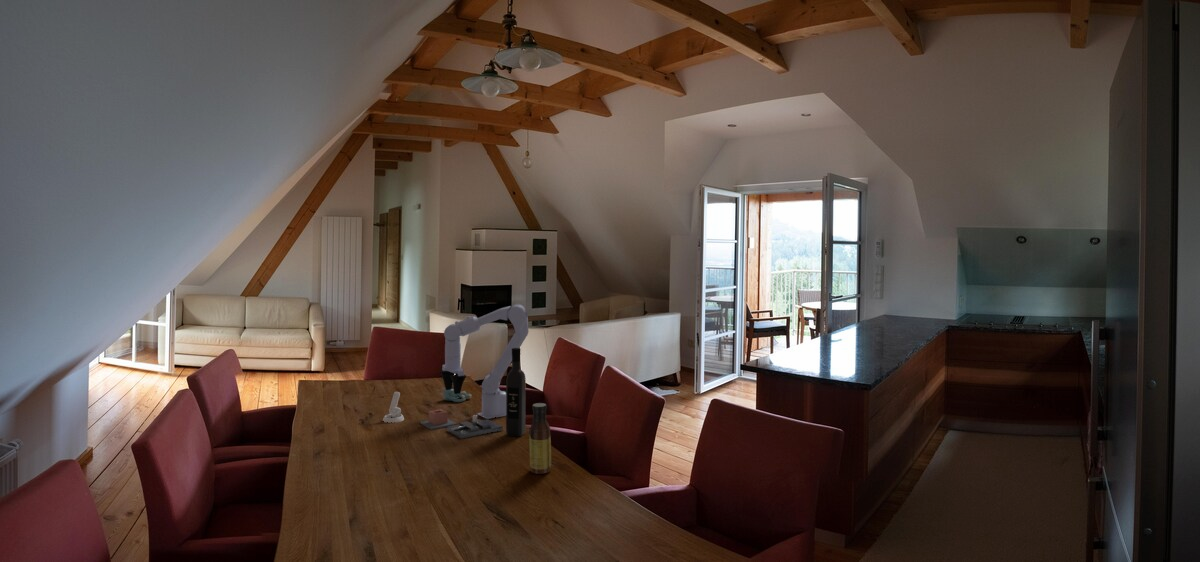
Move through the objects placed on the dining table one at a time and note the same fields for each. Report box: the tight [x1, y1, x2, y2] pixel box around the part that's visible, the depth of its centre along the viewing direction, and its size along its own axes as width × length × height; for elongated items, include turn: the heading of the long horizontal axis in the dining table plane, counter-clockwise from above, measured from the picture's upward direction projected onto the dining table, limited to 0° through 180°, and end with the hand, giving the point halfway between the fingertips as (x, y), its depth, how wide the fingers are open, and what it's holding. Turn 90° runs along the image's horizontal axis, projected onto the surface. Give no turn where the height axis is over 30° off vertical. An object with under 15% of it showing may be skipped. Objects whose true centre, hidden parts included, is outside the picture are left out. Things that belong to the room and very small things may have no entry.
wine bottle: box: [505, 347, 526, 438], centre depth 222 cm, size 6×6×30 cm
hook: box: [382, 391, 405, 424], centre depth 241 cm, size 8×12×7 cm
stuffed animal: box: [442, 386, 473, 403], centre depth 269 cm, size 11×7×12 cm
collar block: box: [428, 408, 449, 425], centre depth 234 cm, size 5×5×4 cm
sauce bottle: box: [528, 402, 552, 475], centre depth 187 cm, size 6×6×20 cm
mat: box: [419, 418, 458, 431], centre depth 234 cm, size 10×10×1 cm
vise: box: [446, 414, 504, 440], centre depth 226 cm, size 17×11×6 cm, turn 128°
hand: (452, 391), depth 244 cm, fingers open, 7 cm apart
